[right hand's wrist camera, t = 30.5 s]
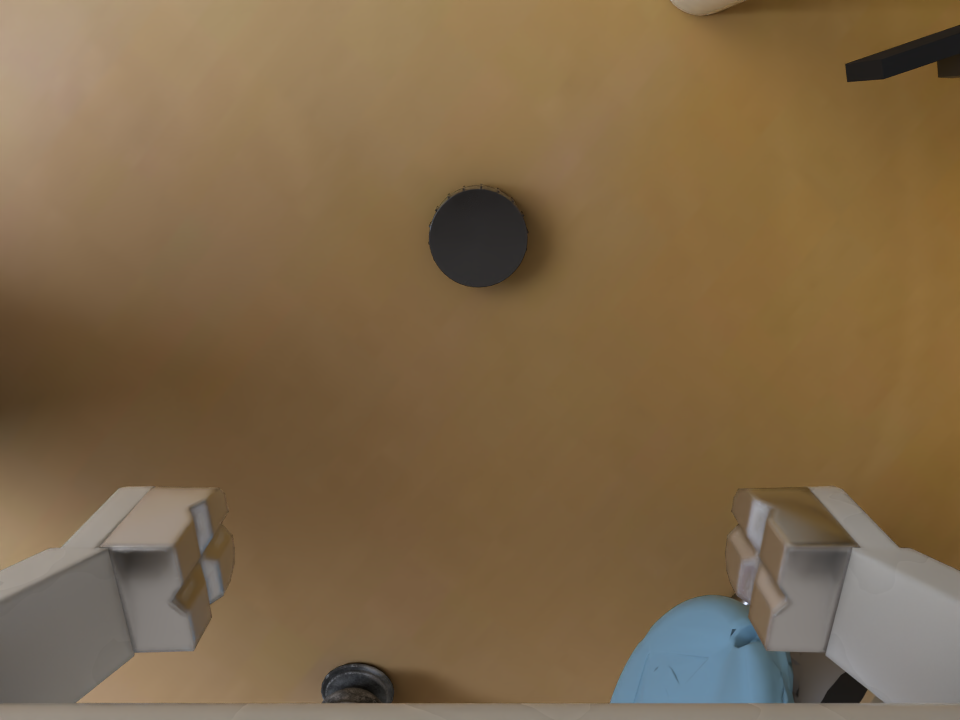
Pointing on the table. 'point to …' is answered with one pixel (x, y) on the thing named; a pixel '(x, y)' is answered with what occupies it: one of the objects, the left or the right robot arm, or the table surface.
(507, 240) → the lid
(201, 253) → the table surface
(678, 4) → the jar
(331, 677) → the grey chess piece
